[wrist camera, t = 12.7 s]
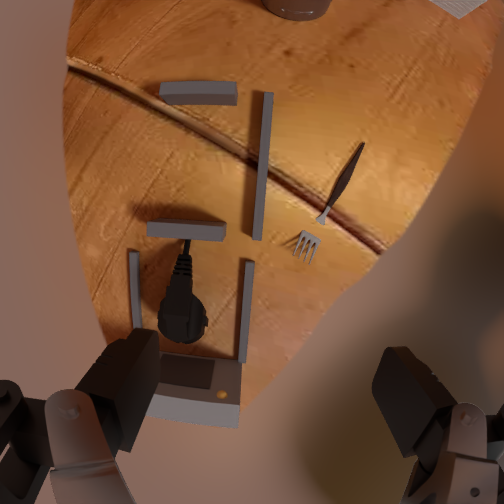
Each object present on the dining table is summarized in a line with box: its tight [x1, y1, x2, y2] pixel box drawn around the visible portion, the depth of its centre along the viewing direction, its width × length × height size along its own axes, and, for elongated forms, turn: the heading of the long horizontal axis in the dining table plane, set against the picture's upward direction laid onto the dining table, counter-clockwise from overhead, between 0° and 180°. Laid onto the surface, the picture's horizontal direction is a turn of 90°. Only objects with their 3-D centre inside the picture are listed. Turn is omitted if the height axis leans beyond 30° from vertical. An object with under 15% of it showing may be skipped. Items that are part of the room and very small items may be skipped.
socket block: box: [129, 251, 255, 428], centre depth 30 cm, size 18×15×9 cm
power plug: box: [157, 239, 208, 344], centre depth 32 cm, size 6×8×12 cm
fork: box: [293, 143, 365, 265], centre depth 31 cm, size 3×16×2 cm, turn 150°
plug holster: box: [147, 81, 274, 242], centre depth 28 cm, size 17×12×4 cm
